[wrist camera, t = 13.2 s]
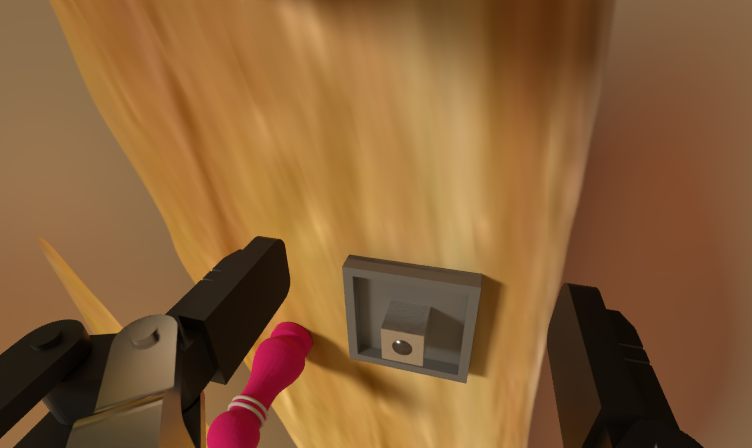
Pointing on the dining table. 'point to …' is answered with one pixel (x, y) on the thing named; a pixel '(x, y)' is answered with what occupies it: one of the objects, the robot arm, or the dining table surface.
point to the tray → (418, 286)
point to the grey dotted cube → (405, 332)
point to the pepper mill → (262, 387)
